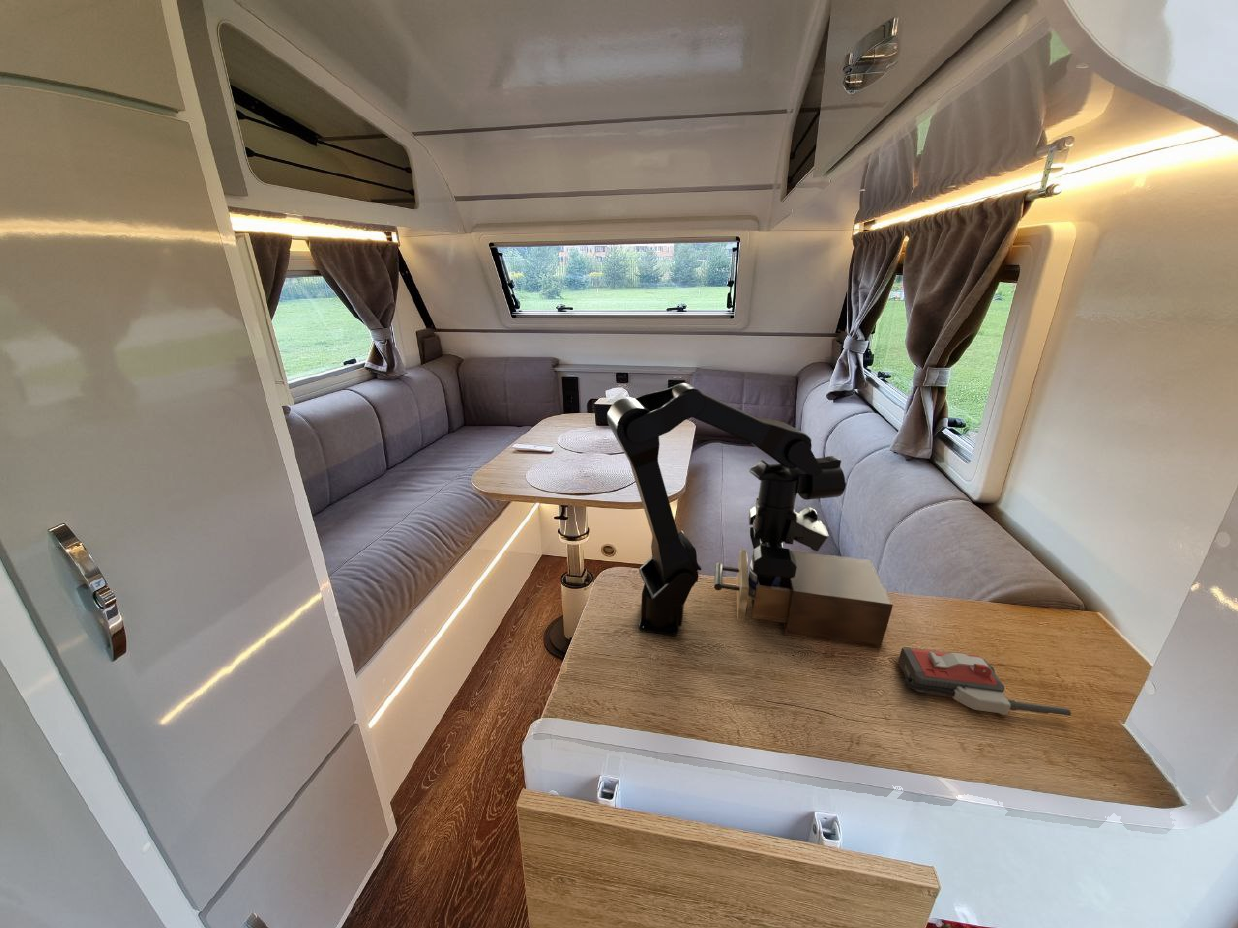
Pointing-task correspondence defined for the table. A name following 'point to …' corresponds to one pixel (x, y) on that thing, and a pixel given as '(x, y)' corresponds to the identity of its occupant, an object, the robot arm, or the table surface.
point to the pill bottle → (754, 582)
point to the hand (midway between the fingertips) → (763, 580)
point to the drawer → (756, 593)
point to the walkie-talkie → (962, 681)
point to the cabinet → (838, 600)
